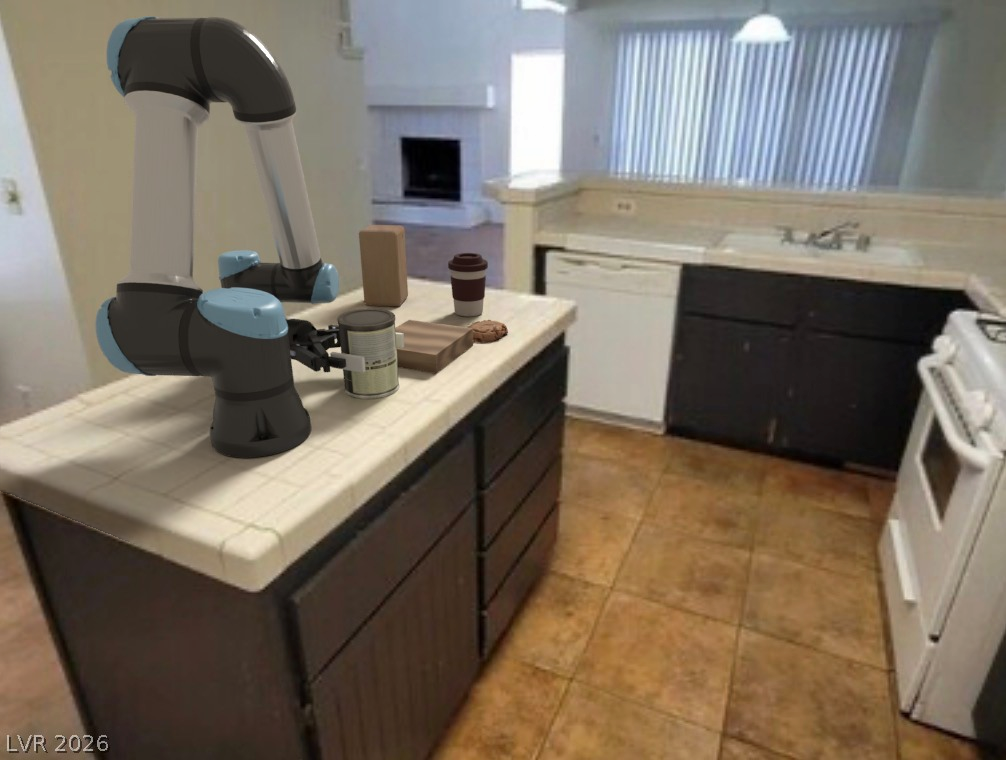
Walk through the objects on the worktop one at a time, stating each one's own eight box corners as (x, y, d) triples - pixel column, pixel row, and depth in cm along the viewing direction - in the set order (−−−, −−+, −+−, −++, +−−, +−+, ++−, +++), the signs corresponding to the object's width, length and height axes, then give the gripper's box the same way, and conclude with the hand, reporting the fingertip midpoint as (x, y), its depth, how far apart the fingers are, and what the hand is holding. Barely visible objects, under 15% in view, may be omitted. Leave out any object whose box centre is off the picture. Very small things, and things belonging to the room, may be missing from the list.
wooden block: (409, 297, 179) (405, 224, 171) (400, 307, 170) (395, 231, 162) (374, 296, 180) (368, 224, 172) (363, 306, 171) (357, 230, 163)
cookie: (466, 344, 145) (466, 331, 144) (465, 329, 155) (464, 317, 154) (510, 343, 146) (510, 330, 145) (506, 328, 156) (506, 316, 154)
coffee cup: (443, 316, 163) (441, 258, 157) (457, 306, 172) (456, 250, 166) (480, 320, 160) (480, 260, 154) (492, 309, 169) (492, 252, 163)
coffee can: (332, 391, 120) (324, 319, 114) (369, 373, 128) (364, 305, 122) (374, 404, 115) (368, 329, 109) (410, 384, 123) (406, 314, 117)
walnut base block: (436, 373, 128) (435, 354, 126) (367, 362, 133) (366, 344, 132) (473, 345, 143) (472, 328, 142) (410, 336, 149) (409, 319, 147)
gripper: (329, 336, 136) (418, 349, 129) (246, 378, 115) (346, 397, 108) (326, 302, 133) (416, 313, 126) (239, 338, 112) (342, 355, 105)
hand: (384, 352), depth 117 cm, fingers open, 13 cm apart
